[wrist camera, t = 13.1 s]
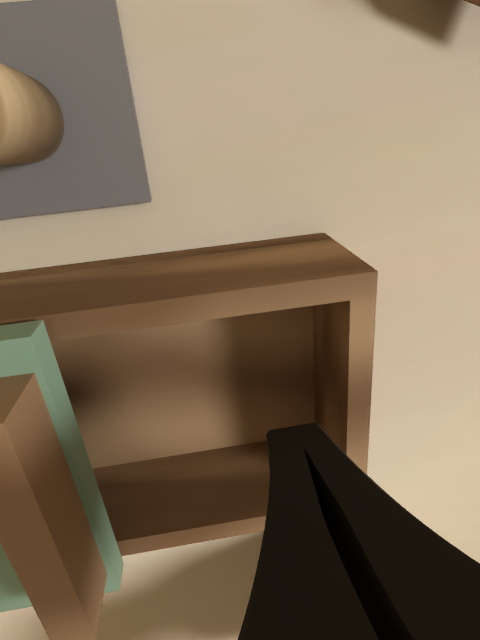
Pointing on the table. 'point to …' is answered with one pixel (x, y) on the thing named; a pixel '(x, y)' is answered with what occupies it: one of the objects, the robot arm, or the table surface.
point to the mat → (75, 108)
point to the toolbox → (204, 373)
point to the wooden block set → (474, 2)
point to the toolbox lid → (49, 496)
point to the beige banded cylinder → (27, 119)
